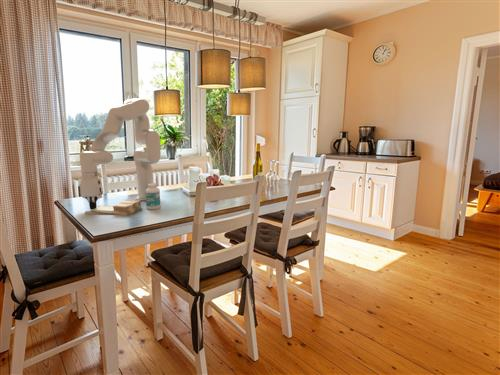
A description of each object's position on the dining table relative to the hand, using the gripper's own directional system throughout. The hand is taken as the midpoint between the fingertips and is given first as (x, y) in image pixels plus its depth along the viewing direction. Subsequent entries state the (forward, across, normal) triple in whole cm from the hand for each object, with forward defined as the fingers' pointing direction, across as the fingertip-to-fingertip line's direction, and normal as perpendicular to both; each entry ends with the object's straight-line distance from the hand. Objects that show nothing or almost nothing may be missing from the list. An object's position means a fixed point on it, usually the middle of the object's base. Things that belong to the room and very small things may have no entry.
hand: (93, 208), depth 165 cm
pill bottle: (+1, -30, -8) cm, 31 cm away
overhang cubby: (+1, -11, 0) cm, 11 cm away
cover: (+2, -9, 0) cm, 9 cm away
